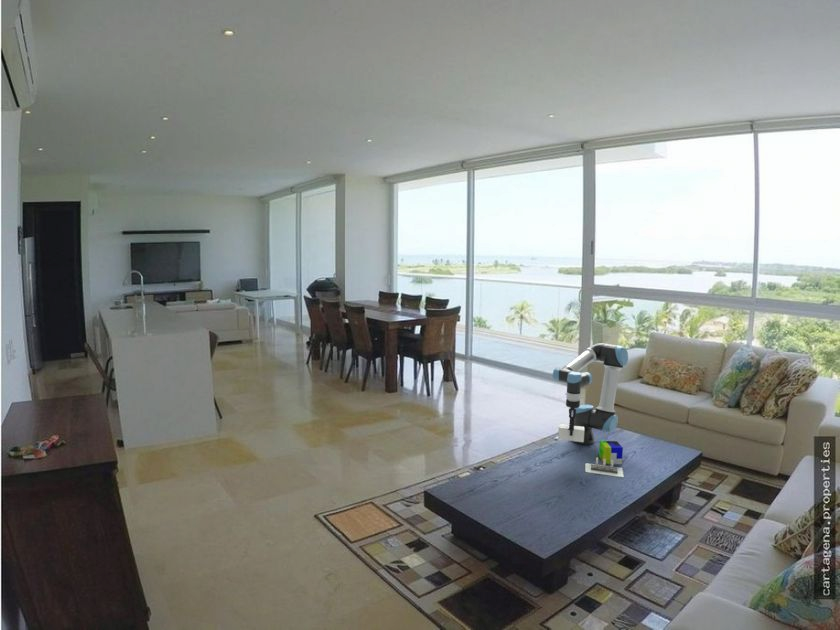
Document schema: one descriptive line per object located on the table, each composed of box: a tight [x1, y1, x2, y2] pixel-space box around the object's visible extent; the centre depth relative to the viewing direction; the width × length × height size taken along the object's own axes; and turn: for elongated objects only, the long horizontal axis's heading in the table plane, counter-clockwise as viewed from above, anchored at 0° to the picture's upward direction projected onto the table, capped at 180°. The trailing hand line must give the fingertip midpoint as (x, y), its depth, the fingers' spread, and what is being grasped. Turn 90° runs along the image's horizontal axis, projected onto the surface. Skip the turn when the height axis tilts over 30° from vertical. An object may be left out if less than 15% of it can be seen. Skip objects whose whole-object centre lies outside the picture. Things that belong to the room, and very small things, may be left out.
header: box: [584, 457, 625, 479], centre depth 294 cm, size 12×20×7 cm, turn 73°
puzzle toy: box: [598, 440, 624, 465], centre depth 308 cm, size 10×10×10 cm
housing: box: [557, 423, 584, 442], centre depth 299 cm, size 14×6×7 cm, turn 73°
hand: (570, 438), depth 300 cm, fingers closed on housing, 6 cm apart
